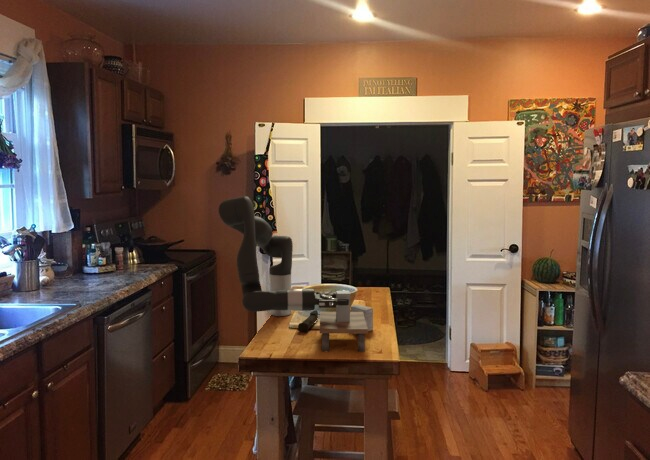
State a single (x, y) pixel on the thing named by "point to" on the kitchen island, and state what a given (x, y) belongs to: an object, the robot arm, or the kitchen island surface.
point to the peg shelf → (343, 328)
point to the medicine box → (365, 314)
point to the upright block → (343, 307)
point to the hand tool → (308, 322)
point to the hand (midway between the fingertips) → (346, 298)
